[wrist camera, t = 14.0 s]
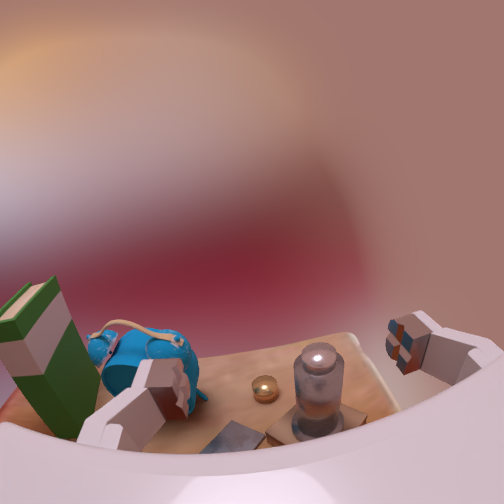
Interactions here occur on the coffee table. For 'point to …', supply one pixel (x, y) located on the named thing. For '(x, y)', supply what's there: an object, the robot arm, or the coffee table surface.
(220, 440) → the steel plate
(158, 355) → the alarm clock
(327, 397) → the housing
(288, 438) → the stand
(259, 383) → the brass knob
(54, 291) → the hardback book
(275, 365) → the coffee table surface
